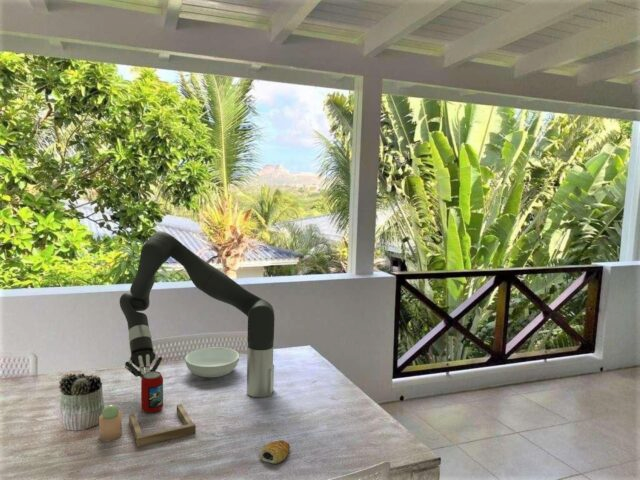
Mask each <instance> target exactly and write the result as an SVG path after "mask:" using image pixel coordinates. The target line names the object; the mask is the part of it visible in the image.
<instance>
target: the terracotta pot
mask: <svg viewBox="0 0 640 480" xmlns="http://www.w3.org/2000/svg"><path fill="white" fill-rule="evenodd" d="M122 416H123V414H122V412H121V411H119V408H118V406H117V405H115V404H108V405H107V406H104V407H103V409H102V413H101V414H100V415H99V417H98V421H99V423H98V424H99V425H98V427H99V428H98V429H99V439H100V440H101V441H104V442H106V441H107V442H110V441H114V440H117V439H118V438H120V437H122V435H123V423H122V422H123V417H122Z"/></svg>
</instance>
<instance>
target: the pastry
mask: <svg viewBox="0 0 640 480" xmlns="http://www.w3.org/2000/svg"><path fill="white" fill-rule="evenodd" d="M290 447H291V446H290V443H288V442H287V441H285V440H282V439H281V440H280V439H279V440H275V441H271V442H268V443H267V444H265V445H264V446H263V447H262V448H261V451H260V452H259V453H258V457H259V459H260V460H261V461H262V462H266V463H270V464H272V465H274V464H280V463H282V462H283V461H284V460H285V459H287V456H288V454H289V452H290V449H291V448H290Z"/></svg>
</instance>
